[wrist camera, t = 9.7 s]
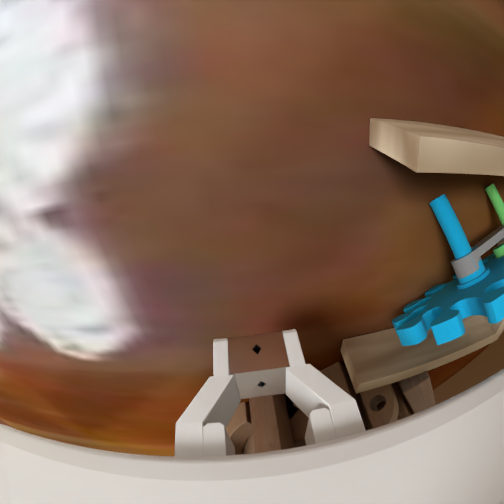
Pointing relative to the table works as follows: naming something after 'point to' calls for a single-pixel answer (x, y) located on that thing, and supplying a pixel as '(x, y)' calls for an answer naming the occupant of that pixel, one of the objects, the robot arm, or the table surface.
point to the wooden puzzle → (294, 429)
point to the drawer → (497, 163)
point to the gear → (459, 282)
